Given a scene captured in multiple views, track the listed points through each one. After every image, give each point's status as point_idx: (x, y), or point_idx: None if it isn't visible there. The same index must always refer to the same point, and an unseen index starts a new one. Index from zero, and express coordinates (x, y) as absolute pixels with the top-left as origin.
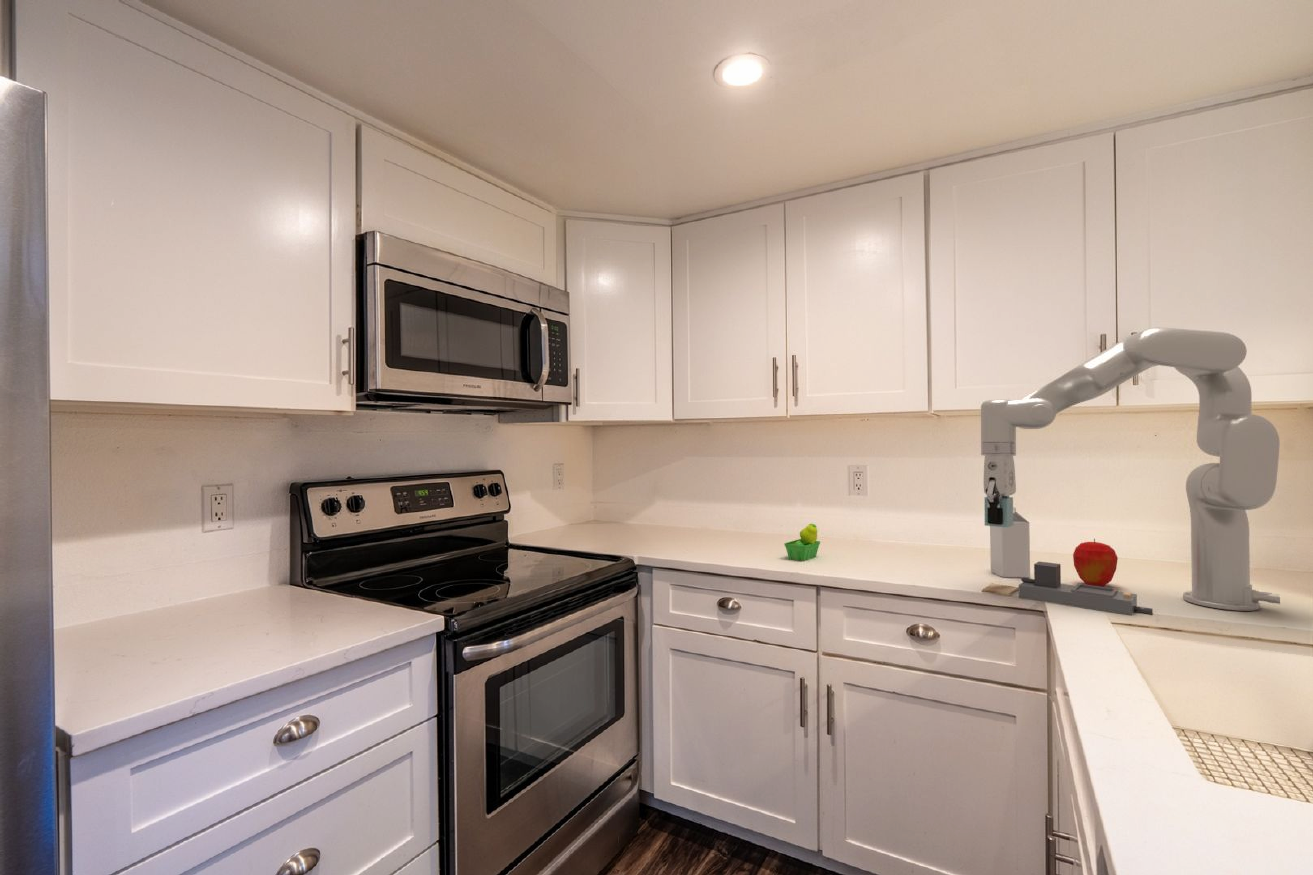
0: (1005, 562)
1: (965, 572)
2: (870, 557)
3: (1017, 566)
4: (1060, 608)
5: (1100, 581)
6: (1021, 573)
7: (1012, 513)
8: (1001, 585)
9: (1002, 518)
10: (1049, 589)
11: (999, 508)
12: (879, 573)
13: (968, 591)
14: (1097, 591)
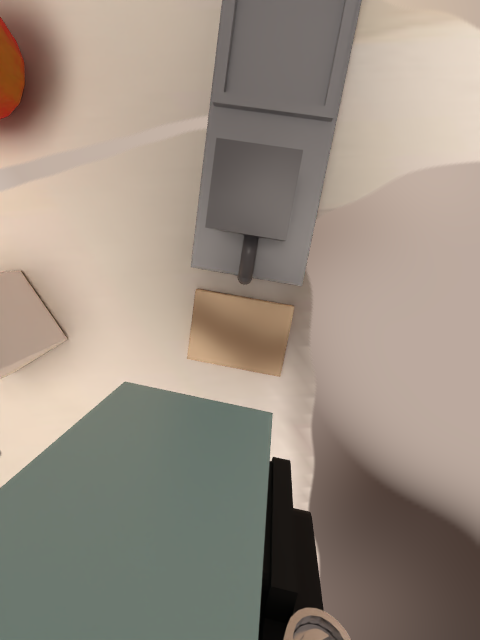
0: (29, 345)
1: (65, 428)
2: None
3: (16, 308)
4: (377, 165)
5: (18, 49)
6: (26, 293)
7: (81, 437)
8: (200, 333)
9: (280, 489)
10: (320, 192)
11: (291, 610)
12: None
13: (295, 404)
14: (269, 34)
